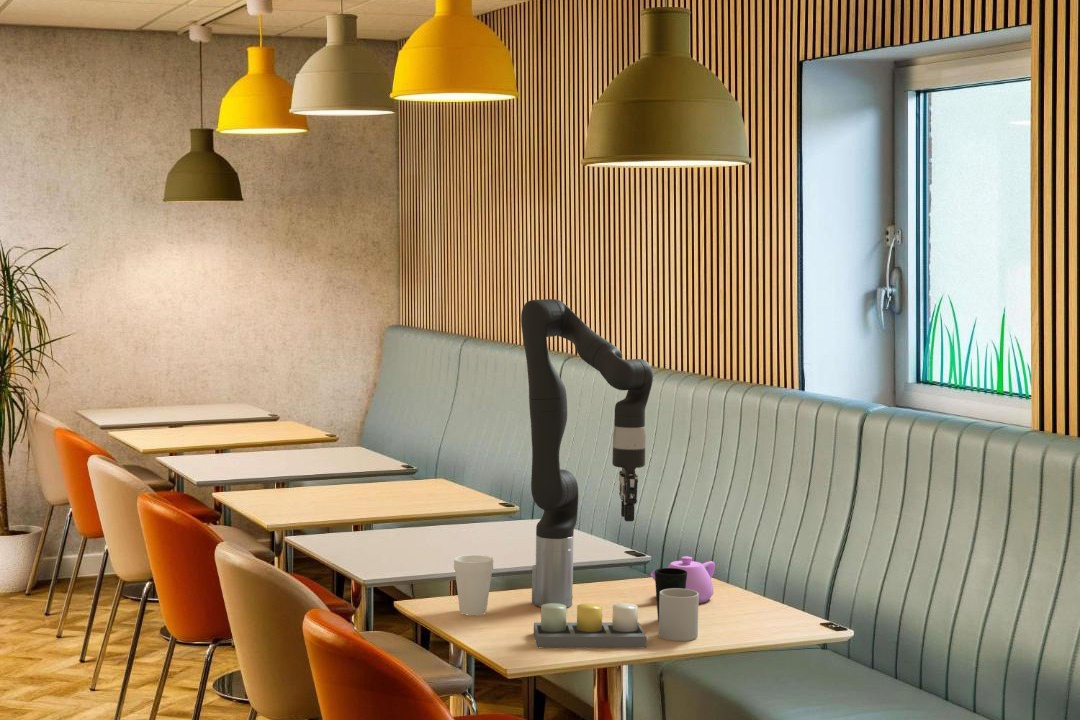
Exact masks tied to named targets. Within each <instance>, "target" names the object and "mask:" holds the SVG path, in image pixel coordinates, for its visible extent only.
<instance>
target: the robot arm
mask: <svg viewBox="0 0 1080 720" xmlns="http://www.w3.org/2000/svg"><path fill="white" fill-rule="evenodd" d="M520 323H521V333H522V339H523V344H524V345H523V346H524V351H525V357H526V358H525V359H526V368H527V369H526V370H527V380H528V381H527V382H528V403H529V404H528V405H529V416H530V417H529V418H530V429H531V430H530V433H531V434H530V435H531V450H532V451H531V454H532V457H531V459H532V461H531V474H530V475H531V476H530V477H531V478H530V490H531V497H532V499H533V502H534V503H535V505H536V506H537V507H538V508H540V509H541V510H543V514H542V517H541V518H540V520H539V521H538V522H537V524H536V526H535V527H536V528H535V564H534V565H532V568H531V571H532V572H531V605H535V606H536V607H540V608H541V606H542V605H543V604H549V603H557V604H563V605H566V608H570V607H572V606H573V585H574V583H573V582H574V580H573V579H574V532H575V531H574V530H575V527H576V525H577V522H578V508H579V487H578V482H577V478H576V477H575V476H574V474H572V472H570V471H569V470H566V469H563V468H562V469H561V465H560V463H561V462H560V450H561V449H560V448H561V444H562V441H563V437H564V434H565V430H566V425H567V421H568V399H567V397H568V395H567V390H566V387H565V384H564V382H563V380H562V378H561V377H560V375H559V372H558V371H557V369H556V368H555V367H554V365H553V363H552V362H551V358H550V355H549V348H548V340H547V339H548V338H551V337H553V338H554V337H561V338H563V339H566V340H568V341H569V342H571V343H572V344H573V345H574V347H575V350H576V352H577V354H578V356H579V357H580V358H581V360H583V361H584V362H585V363H586V364H587V365H589V366H590V367H592V368H593V369H595V370H596V371H597V372H599V374H600V375H601V376H602V378H603V379H604V380H605V381H606V382H607V384H608V385H610V387H612V388H614V389H616V390H619V391H627V393H626V395H625V397H624V398H623V399H622V400H619V401H617V402H616V403H615V405H614V420H613V421H614V423H613V424H614V425H613V427H614V428H613V433H612V460H611V461H612V466H614V467H616V468H619V469H620V468H621V470H619V472H618V480H619V483H618V484H619V487H618V490H619V492H618V493H619V499H620V503H621V504H620V505H621V507H620V511H621V512H620V515H621V517H622V518H623V519H624V521H625V522H634V521H635V506H636V504H637V502H638V498H637V497H638V483H639V475H637V473H636V469H640V468H644V467H645V465H646V443H647V441H646V430H645V429H646V427H645V425H646V421H645V420H646V407H647V404H648V400H649V397H650V393H651V391H652V386H653V382H654V375H653V374H654V373H653V369H652V366H651V365H650V363H649V362H648V361H646V360H645V359H642V358H636V359H635V358H634V359H633V358H632V359H623V354H622V351H621V350H620V349H619V348H618V347H617V346H615V345H614V344H613V343H611V342H610V341H608V340H607V339H605V338H604V337H602V336H601V335H599V334H597V332H595V331H594V330H593V329H591V328H590V327H589V326H588V325H587V324H586V323H585V322H584V321H583V320H582V319H581V318H580V317H578V315H577V314H575V312H574V311H573V310H572V309H571V308H570V307H569V306H568V305H566V304H565V303H564V302H563V301H562V300H559V299H554V298H549V299H548V298H547V299H544V298H543V299H530V300H528V301H527V302H525V303H524V304H523V306H522V309H521V315H520Z"/></svg>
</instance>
